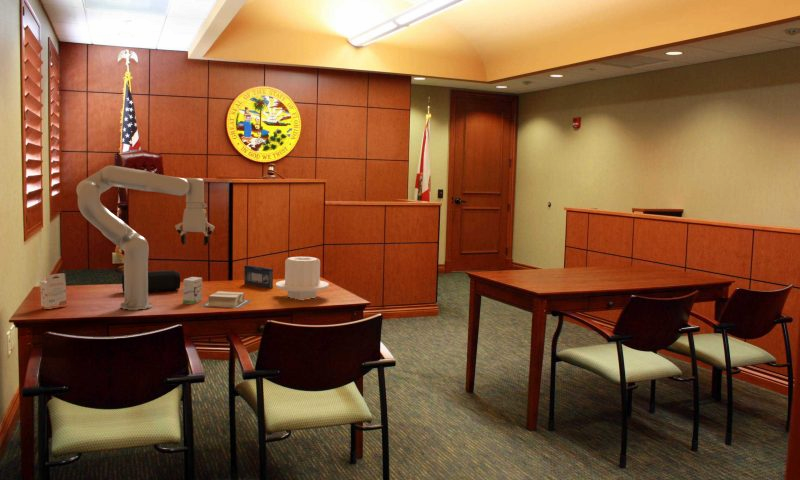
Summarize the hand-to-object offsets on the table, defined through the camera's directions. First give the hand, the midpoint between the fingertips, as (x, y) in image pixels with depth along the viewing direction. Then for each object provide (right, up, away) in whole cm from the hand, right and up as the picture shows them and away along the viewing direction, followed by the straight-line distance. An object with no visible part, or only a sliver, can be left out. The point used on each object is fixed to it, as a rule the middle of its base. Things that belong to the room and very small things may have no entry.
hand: (194, 244), depth 301 cm
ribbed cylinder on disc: (+45, -26, +22) cm, 56 cm away
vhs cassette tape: (+18, -22, +48) cm, 56 cm away
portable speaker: (-28, -23, +25) cm, 44 cm away
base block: (+14, -26, 0) cm, 30 cm away
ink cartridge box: (-55, -27, -15) cm, 63 cm away
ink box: (-1, -27, 0) cm, 27 cm away
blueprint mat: (+14, -27, 0) cm, 31 cm away
